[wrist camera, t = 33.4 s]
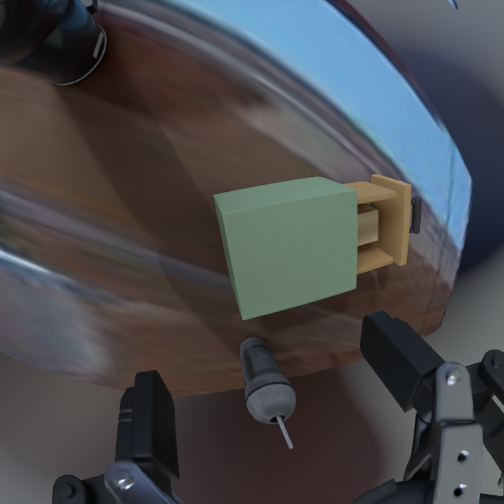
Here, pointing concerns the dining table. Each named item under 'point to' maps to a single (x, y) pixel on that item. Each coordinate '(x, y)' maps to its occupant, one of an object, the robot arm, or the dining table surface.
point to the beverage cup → (266, 385)
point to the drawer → (387, 221)
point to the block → (367, 224)
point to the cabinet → (289, 243)
